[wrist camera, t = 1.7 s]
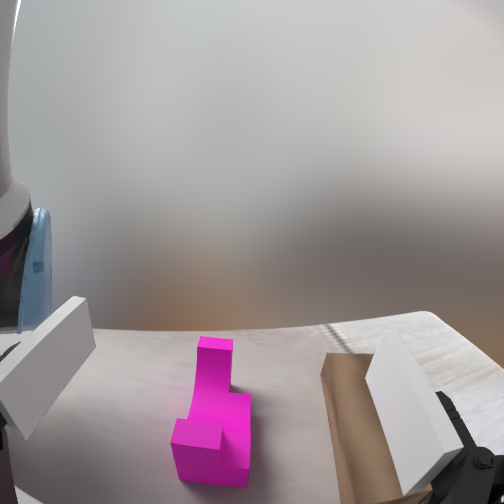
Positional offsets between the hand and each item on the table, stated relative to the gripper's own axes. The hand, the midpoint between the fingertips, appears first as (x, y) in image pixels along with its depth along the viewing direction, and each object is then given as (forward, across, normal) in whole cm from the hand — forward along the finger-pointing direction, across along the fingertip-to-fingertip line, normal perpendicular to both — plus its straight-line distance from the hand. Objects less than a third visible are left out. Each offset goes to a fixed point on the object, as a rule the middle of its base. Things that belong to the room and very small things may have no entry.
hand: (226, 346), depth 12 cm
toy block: (+10, -1, -20) cm, 22 cm away
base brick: (+10, +16, -20) cm, 27 cm away
